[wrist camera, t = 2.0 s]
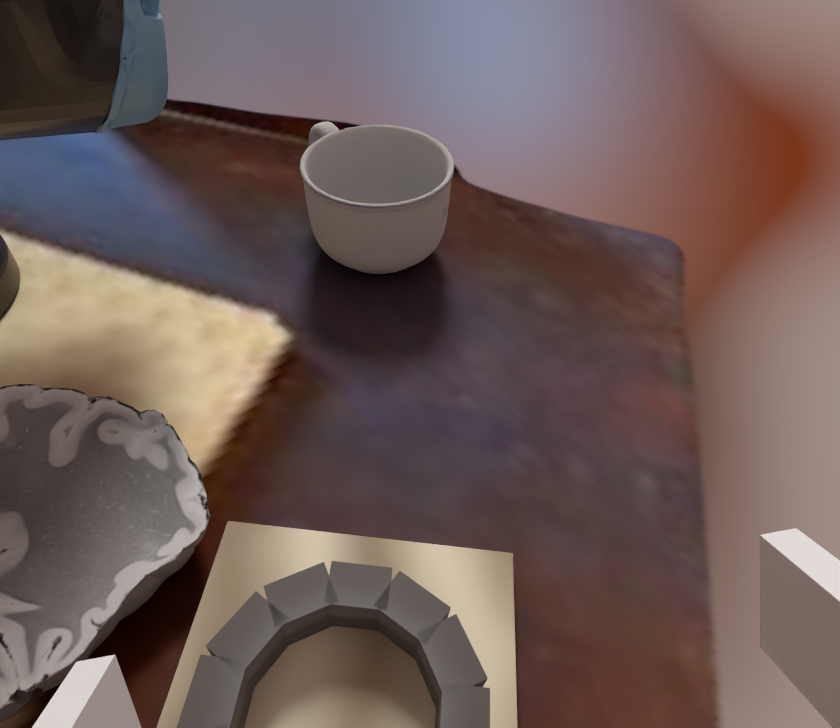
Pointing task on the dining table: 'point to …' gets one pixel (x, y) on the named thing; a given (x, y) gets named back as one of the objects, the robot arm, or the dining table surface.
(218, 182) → the dining table surface
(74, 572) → the brain slice
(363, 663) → the ring board
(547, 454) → the dining table surface
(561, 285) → the dining table surface
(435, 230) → the teacup
